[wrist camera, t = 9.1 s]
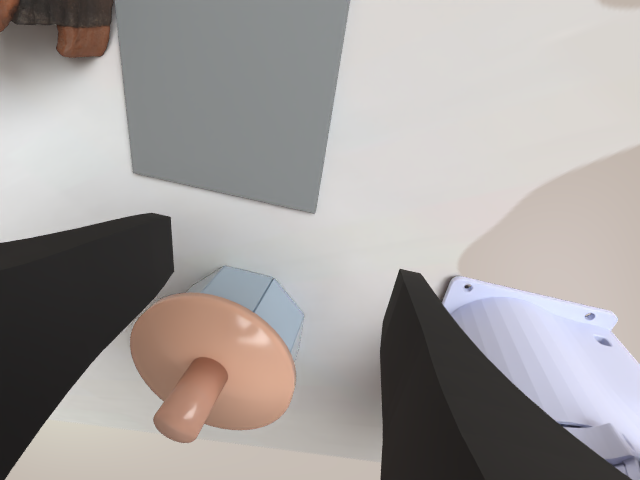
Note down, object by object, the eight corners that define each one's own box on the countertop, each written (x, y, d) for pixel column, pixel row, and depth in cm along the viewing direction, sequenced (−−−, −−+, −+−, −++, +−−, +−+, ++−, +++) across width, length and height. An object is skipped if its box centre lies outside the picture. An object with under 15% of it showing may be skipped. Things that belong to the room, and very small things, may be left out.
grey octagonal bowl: (309, 286, 23) (289, 335, 19) (294, 374, 27) (275, 431, 23) (191, 257, 24) (145, 297, 20) (193, 346, 28) (156, 396, 24)
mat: (355, -33, 15) (354, -36, 15) (315, 211, 21) (314, 213, 20) (113, -68, 16) (107, -72, 16) (137, 171, 22) (132, 172, 21)
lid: (303, 314, 18) (278, 380, 14) (290, 434, 23) (269, 508, 19) (126, 276, 19) (59, 327, 15) (149, 397, 24) (103, 460, 20)
